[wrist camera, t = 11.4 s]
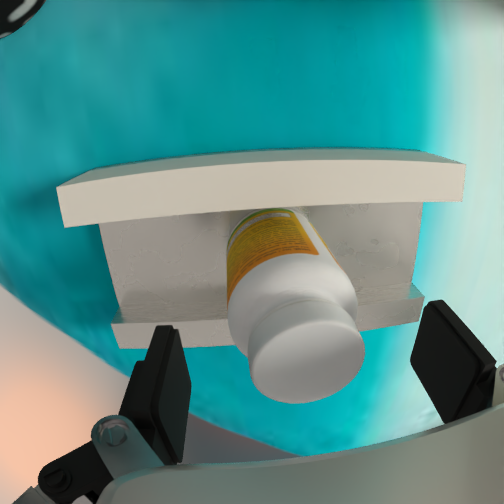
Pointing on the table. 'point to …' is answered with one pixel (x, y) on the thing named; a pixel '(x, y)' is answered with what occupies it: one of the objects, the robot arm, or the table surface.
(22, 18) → the spotted tube
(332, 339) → the supplement bottle
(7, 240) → the table surface
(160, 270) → the track
